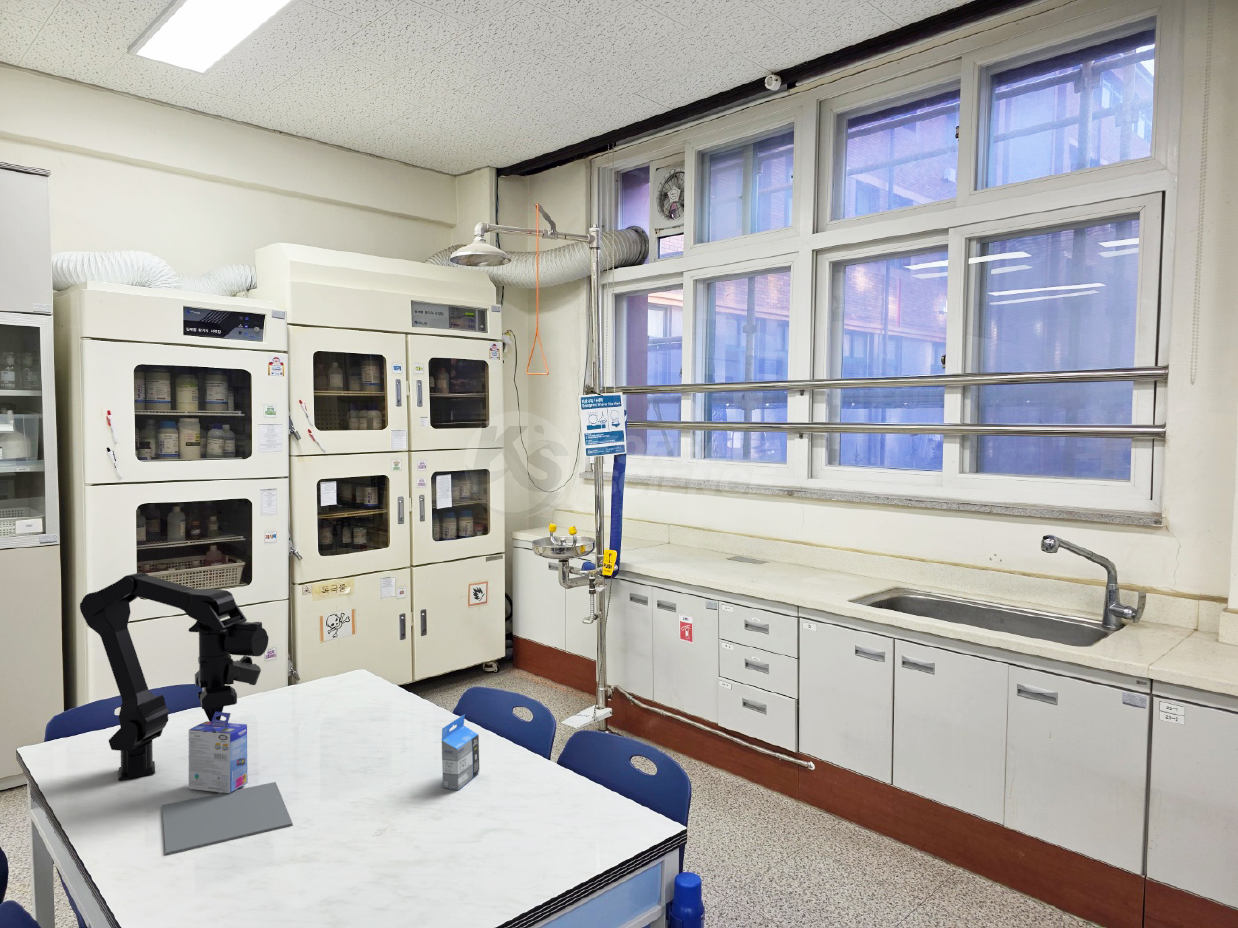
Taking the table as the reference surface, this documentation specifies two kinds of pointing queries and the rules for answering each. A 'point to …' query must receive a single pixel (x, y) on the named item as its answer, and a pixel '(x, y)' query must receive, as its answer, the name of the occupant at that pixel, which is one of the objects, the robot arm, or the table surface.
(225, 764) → the ink cartridge box
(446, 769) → the label tape box
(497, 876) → the table surface
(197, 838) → the charcoal mat
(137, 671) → the robot arm
